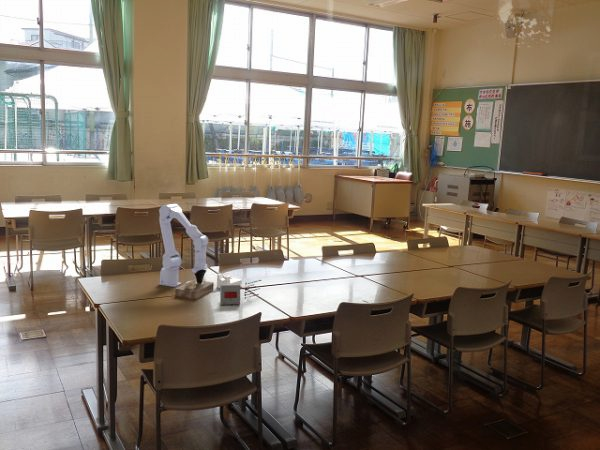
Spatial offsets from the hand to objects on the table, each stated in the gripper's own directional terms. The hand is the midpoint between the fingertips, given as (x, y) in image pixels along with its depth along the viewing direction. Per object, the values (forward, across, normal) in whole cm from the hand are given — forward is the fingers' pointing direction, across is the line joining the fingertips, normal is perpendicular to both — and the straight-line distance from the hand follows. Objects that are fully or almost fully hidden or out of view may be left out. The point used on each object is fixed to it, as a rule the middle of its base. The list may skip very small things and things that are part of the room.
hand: (199, 283), depth 298 cm
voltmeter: (+4, -7, -26) cm, 28 cm away
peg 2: (+4, 0, 0) cm, 4 cm away
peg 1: (+1, -10, 0) cm, 10 cm away
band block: (+4, -5, 0) cm, 6 cm away
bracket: (+4, +15, -11) cm, 19 cm away
